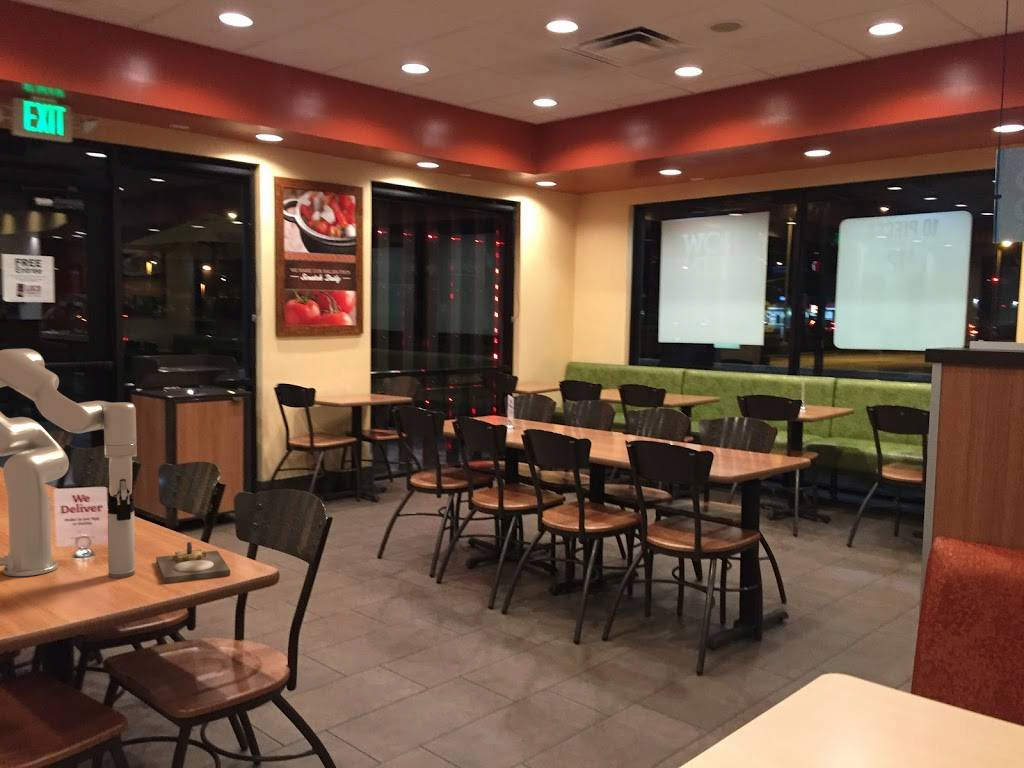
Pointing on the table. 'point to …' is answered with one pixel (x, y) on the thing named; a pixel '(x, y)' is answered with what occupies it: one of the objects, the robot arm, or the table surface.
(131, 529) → the travel mug
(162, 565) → the grey sink model
